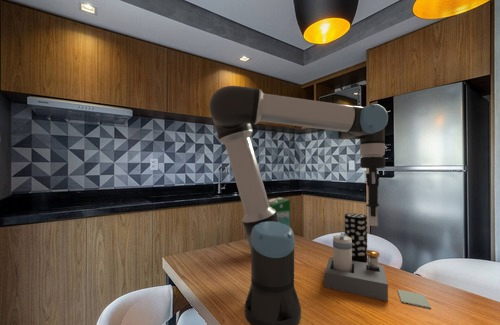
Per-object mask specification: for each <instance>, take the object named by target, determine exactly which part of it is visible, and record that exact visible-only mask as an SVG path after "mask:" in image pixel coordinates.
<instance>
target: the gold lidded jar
mask: <svg viewBox="0 0 500 325" xmlns="http://www.w3.org/2000/svg"><path fill="white" fill-rule="evenodd" d="M366 255H367V263H368V270H371V271H377V272H378V265H379V260H378V259H379V258H380V252H379V251H377V250H372V249H367V251H366Z"/></svg>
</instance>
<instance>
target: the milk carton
mask: <svg viewBox="0 0 500 325" xmlns="http://www.w3.org/2000/svg"><path fill="white" fill-rule="evenodd" d="M268 202H269V205H270V207H271V208H273V209H275V210H276V213H277V216H278V220H279V222H280V223H282V224H286V225H287V226H289V227H290V228H291V200H290V199H288V198H286V197H285V198H284V197H280V196H279V197H276V198H271V199H268Z"/></svg>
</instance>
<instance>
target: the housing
mask: <svg viewBox="0 0 500 325" xmlns="http://www.w3.org/2000/svg"><path fill="white" fill-rule="evenodd" d="M324 288H326V289H332V290H336V291H340V292H345V293H349V294H354V295H358V296H363V297H367V298H372V299H377V300H381V301H386V302H388V301H389V284H388V279H387V276H386V270H385V266H384V265H382V264H378V272H377V271H371V270H368V262H367V263H364V262H358V261H352V273H350V272H344V271H339V270H333V256H329V258H328V261H327V264H326V266H325V270H324Z"/></svg>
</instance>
